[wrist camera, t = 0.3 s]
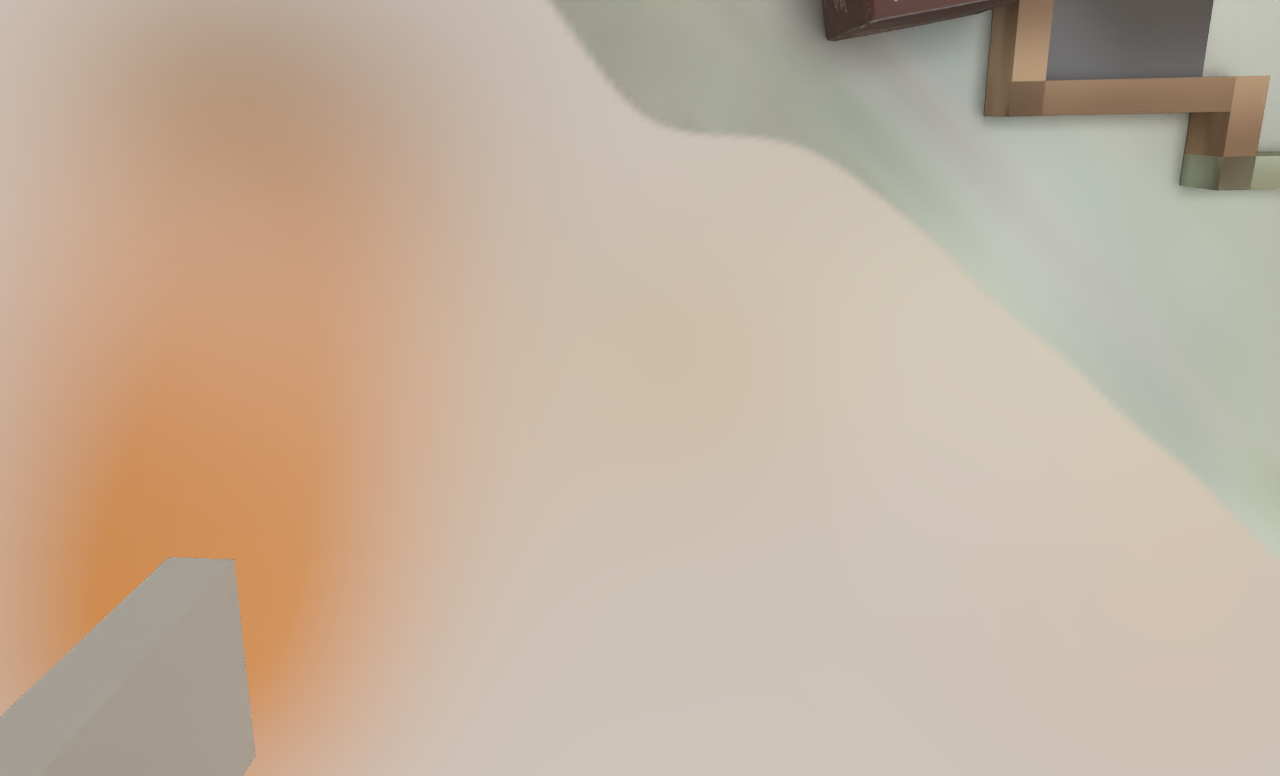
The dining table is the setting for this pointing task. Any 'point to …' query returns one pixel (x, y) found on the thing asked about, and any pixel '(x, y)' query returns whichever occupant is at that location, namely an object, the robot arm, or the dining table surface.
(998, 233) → the dining table surface
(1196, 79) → the trap channel
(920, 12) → the box
